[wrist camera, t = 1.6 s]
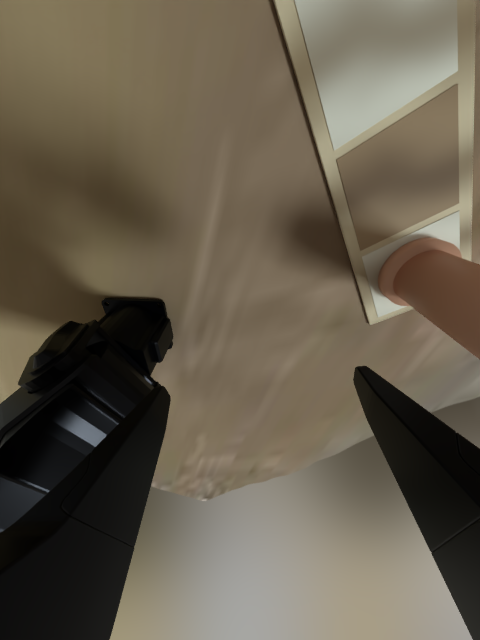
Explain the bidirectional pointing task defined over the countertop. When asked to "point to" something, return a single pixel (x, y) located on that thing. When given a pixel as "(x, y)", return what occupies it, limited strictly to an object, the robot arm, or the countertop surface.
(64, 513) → the robot arm
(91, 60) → the countertop surface
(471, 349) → the tan knob handle
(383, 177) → the board
